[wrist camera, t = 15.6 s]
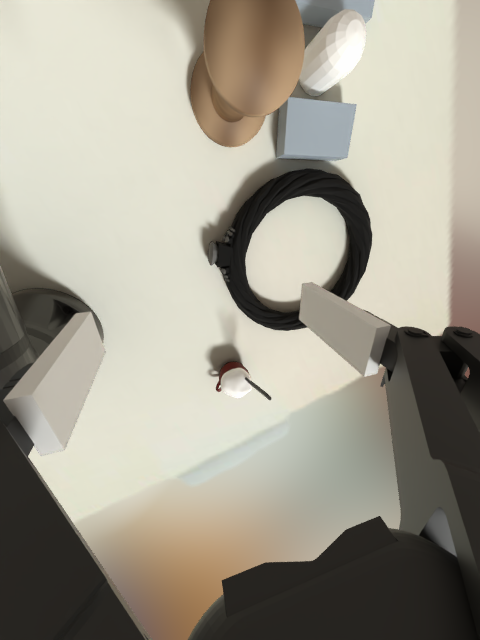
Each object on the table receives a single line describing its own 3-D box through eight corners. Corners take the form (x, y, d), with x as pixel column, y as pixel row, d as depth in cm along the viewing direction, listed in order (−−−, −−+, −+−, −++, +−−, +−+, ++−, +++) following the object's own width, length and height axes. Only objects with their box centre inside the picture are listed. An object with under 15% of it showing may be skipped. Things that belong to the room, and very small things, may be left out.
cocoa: (216, 384, 51) (223, 432, 41) (208, 363, 48) (215, 409, 38) (257, 372, 52) (274, 416, 42) (252, 350, 49) (270, 393, 39)
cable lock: (348, 333, 49) (205, 335, 41) (337, 325, 53) (203, 325, 44) (401, 183, 38) (218, 145, 30) (383, 184, 41) (213, 150, 33)
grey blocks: (276, 157, 35) (284, 154, 32) (289, -59, 26) (301, -88, 23) (335, 160, 37) (347, 157, 34) (366, -39, 28) (385, -63, 26)
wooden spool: (193, 145, 32) (202, 116, 21) (186, 40, 27) (193, -61, 17) (263, 149, 34) (302, 124, 24) (267, 52, 30) (317, -31, 19)
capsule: (290, 63, 31) (324, 21, 24) (322, 30, 30) (367, -23, 23) (310, 106, 33) (345, 80, 26) (340, 77, 32) (384, 42, 25)
